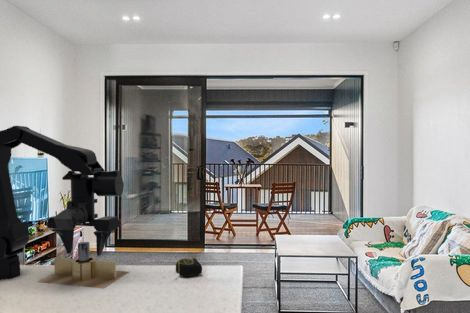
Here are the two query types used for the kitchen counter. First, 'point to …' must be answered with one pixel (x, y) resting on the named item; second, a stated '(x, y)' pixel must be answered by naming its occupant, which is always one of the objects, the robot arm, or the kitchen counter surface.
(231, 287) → the kitchen counter surface
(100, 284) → the walnut board
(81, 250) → the hinge pin
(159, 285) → the kitchen counter surface
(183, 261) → the tape measure
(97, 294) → the kitchen counter surface
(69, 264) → the brass hinge
